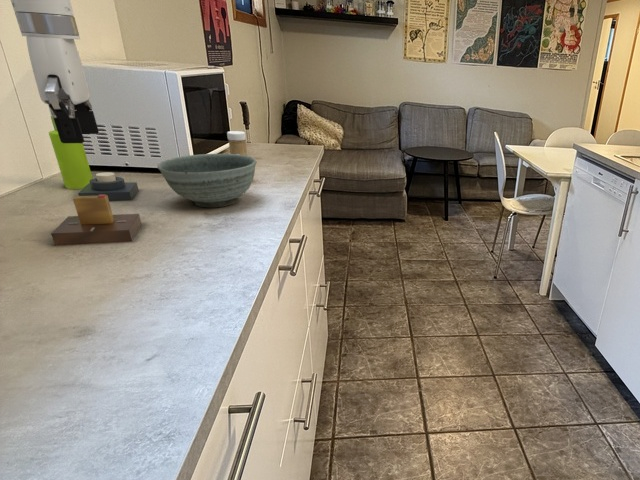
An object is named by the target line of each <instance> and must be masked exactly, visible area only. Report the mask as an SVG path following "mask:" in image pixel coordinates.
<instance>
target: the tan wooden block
mask: <svg viewBox="0 0 640 480" xmlns="http://www.w3.org/2000/svg"><path fill="white" fill-rule="evenodd" d="M72 200H73V204H74V207H75V210H76V214H77V216H78V217H79V220H80V223H81V225H87V224H111V223H113V221H114V218H113V215H114V214H113V211H112V207H111V204H110V201H109V199H108V196H107V195H106V194H99V196H79V195H76V196H74V197H73V198H72Z"/></svg>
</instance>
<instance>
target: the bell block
mask: <svg viewBox="0 0 640 480" xmlns="http://www.w3.org/2000/svg"><path fill="white" fill-rule="evenodd" d="M115 178H116V181H111V182H98V181H97V177H94V178H93V179H91V180H90V181H89V182H90V183H89V184H87V185H86V186H85V187H84V188H83V189H80V191H78V193H77V194H78V195H77V196H99V194H106V195H107V196H108V199H109V202H123V201H124V202H125V201H128V202H129V201H130V202H131V201H133V199H134V198H135V197H136V195H137V194H138V192H139V191H140V190H139V187H138V182H137V181H136V182H134V181H133V182H132V181H131V182H125V179H124V177H121V176H115Z"/></svg>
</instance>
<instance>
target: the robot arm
mask: <svg viewBox="0 0 640 480" xmlns="http://www.w3.org/2000/svg"><path fill="white" fill-rule="evenodd" d="M10 2H11V6H12V8H13V12H14V16H15V18H16V21H17V24H18V28H19V31H20V34H21V36H22V37H25V38H26V46H27V52H28V56H29V61H30V65H31V68H32V72H33V73H32V74H33V76H34V81H35V84H36V86H37V91H38V94H39V98H40V100H41V102H42V103H44V104H46V105H48V104H49V105H48V107H49V109H51V116H53V118H54V122H55V125H56V128H57V131H58V134H59V137H60V141H61V142H62V143H83V144H84V143H85V139H84V138H85V137H84V135H98V134H99V133H100V132H99V129H98V128H99V127H98V124H97V119H96V116H95V113H94V110H93V106H92V103H91V101H90V98H91V93H90V88H89V84H88V80H87V77H86V73H85V69H84V66H83V63H82V60H81V56H80V53H79V50H78V46H77V45H76V41H75V40H81V36H80V32H79V28H78V26H77V25H78V24H77V22H76V18H75V15H74V11H73V7H72V3H71V0H10Z"/></svg>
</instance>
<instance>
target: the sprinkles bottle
mask: <svg viewBox="0 0 640 480" xmlns="http://www.w3.org/2000/svg"><path fill="white" fill-rule="evenodd" d="M226 136H227V137H226V138H227V141H228V145H229V154H236V155H244V156H248V148H247V135H246V132H245V131H242V130H229V131H227V132H226Z"/></svg>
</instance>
